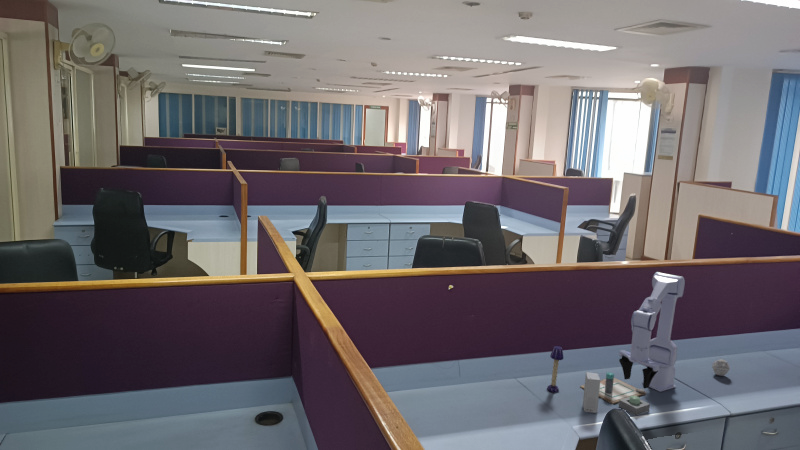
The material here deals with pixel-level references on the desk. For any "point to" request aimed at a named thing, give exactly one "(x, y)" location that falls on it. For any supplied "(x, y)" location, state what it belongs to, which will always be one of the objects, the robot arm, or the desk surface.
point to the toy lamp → (555, 367)
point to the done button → (634, 400)
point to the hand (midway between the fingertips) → (636, 383)
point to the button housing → (632, 408)
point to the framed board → (618, 391)
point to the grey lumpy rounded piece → (720, 367)
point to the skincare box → (591, 392)
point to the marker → (609, 383)
